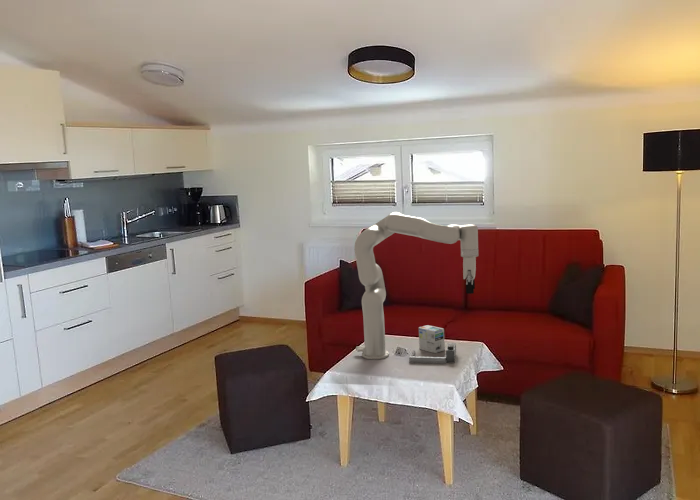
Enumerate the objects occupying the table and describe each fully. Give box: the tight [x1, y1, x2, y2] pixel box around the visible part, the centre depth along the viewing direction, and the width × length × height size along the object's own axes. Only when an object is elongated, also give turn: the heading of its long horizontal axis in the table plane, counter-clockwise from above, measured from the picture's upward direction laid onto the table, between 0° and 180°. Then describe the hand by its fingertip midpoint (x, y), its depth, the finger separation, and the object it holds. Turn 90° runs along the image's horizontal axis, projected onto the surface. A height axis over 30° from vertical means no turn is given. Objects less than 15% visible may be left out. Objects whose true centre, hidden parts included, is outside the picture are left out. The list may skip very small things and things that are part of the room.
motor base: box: [408, 342, 457, 365], centre depth 280 cm, size 20×16×7 cm
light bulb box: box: [418, 324, 446, 354], centre depth 292 cm, size 11×7×11 cm, turn 40°
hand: (470, 291), depth 274 cm, fingers open, 9 cm apart
